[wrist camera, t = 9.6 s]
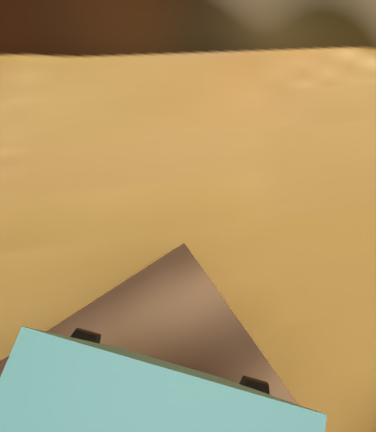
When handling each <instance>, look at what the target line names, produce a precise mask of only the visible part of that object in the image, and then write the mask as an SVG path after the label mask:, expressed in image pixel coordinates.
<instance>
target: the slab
mask: <svg viewBox="0 0 376 432" xmlns="http://www.w3.org/2000/svg"><path fill="white" fill-rule="evenodd" d="M76 328H81V329H85V330H88V331H92V332H95V333H99V334H101V339H100V344H104V345H109V346H113V347H118V348H121V349H125V350H128V351H132V352H135V353H139V354H142V355H146V356H149V357H152V358H156V359H159V360H163V361H166V362H170V363H173V364H177V365H180V366H184V367H187V368H190V369H194V370H197V371H201V372H204V373H208V374H211V375H215V376H218V377H221V378H224V379H227V380H230V381H232V382H235V383H238V384H239V383H240V381H241V378H242V376H243V375H245V376H248V377H252V378H255V379H259V380H262V381H266V382H268V384H269V390H270V395H272V396H275V397H278V398H280V399H283V400H286V401H289V402H292V403H295V404H297V403H296V401H295V400H294V398H293V397H292V395H291V394H290V393H289V391H288V390H287V388H286V387H285V385H284V384H283V383H282V381H281V380H280V378H279V377H278V376H277V374H276V373H275V371H274V370H273V368H272V367H271V366H270V364H269V363H268V361H267V360H266V359H265V357H264V356H263V354H262V353H261V351H260V350H259V349H258V347H257V346H256V344H255V343H254V342H253V340H252V339H251V337H250V336H249V334H248V333H247V332H246V330H245V329H244V327H243V326H242V325H241V323H240V322H239V320H238V319H237V317H236V316H235V315H234V313H233V312H232V310H231V309H230V307H229V306H228V305H227V303H226V302H225V300H224V299H223V298H222V296H221V295H220V293H219V292H218V290H217V289H216V288H215V286H214V285H213V283H212V282H211V281H210V279H209V278H208V276H207V275H206V273H205V272H204V271H203V269H202V268H201V266H200V265H199V264H198V262H197V261H196V259H195V258H194V256H193V255H192V254H191V252H190V251H189V249H188V248H187V247H186V245H185V244H182V245H181V246H179V247H177V248H176V249H174V250H173V251H171V252H170V253H168V254H167V255H165V256H163V257H162V258H160V259H159V260H157V261H156V262H154V263H153V264H151V265H149V266H148V267H146V268H145V269H143V270H142V271H140V272H139V273H137V274H135V275H134V276H132V277H131V278H129V279H128V280H126V281H125V282H123V283H121V284H120V285H118V286H117V287H115V288H114V289H112V290H111V291H109V292H107V293H106V294H104V295H103V296H101V297H100V298H98V299H97V300H95V301H93V302H92V303H90V304H89V305H87V306H86V307H84V308H83V309H81V310H79V311H78V312H76V313H75V314H73V315H72V316H70V317H69V318H67V319H65V320H64V321H62V322H61V323H59V324H58V325H56V326H55V327H53V328H51V329H50V330H48V331H47V332H49V333H54V334H59V335H63V336H68V337H70V336H71V335H72V333H73V332H74V330H75V329H76ZM9 356H10V355H9ZM9 356H8V357H6V358H5V359H3V360H2V361H0V377H1V374H2V372H3V370H4V367H5V365H6V363H7V360H8V358H9ZM297 405H298V404H297Z"/></svg>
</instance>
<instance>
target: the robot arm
mask: <svg viewBox="0 0 376 432" xmlns="http://www.w3.org/2000/svg"><path fill="white" fill-rule="evenodd" d="M70 337H72V338H77V339H81V340H86V341H90V342H94V343H99V344H100V339H101V334H99V333H95V332H92V331H88V330H85V329H81V328H76V329H75V330H74V332H73V333H72V335H71V336H70ZM239 384H241V385H243V386H246V387H249V388H252V389H255V390H258V391H261V392H264V393H266V394H269V395H270V390H269V384H268V382H266V381H262V380H259V379H255V378H252V377H248V376H245V375H243V376H242V378H241V381H240V383H239Z"/></svg>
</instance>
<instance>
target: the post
mask: <svg viewBox="0 0 376 432" xmlns="http://www.w3.org/2000/svg"><path fill="white" fill-rule="evenodd" d="M326 416H327V415H326V414H323V413H320V412H317V411H314V410H312V409H309V408H306V407H303V406H300V405H297V404H295V403H292V402H289V401H286V400H283V399H280V398H278V397H275V396H272V395H269V394H266V393H264V392H261V391H258V390H255V389H252V388H249V387H246V386H243V385H241V384H238V383H235V382H232V381H230V380H227V379H224V378H221V377H218V376H215V375H211V374H208V373H204V372H201V371H197V370H194V369H190V368H187V367H184V366H180V365H177V364H173V363H170V362H166V361H163V360H159V359H156V358H152V357H149V356H146V355H142V354H139V353H135V352H132V351H128V350H125V349H121V348H118V347H113V346H109V345H104V344H99V343H94V342H90V341H86V340H81V339H77V338H72V337H68V336H63V335H59V334H54V333H49V332H45V331H40V330H36V329H31V328H27V327H22V328H21V330H20V332H19V335H18V337H17V339H16V342H15V344H14V346H13V349H12V351H11V353H10V356H9V358H8V360H7V363H6V365H5V367H4V370H3V372H2V374H1V377H0V432H325V426H326Z"/></svg>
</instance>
